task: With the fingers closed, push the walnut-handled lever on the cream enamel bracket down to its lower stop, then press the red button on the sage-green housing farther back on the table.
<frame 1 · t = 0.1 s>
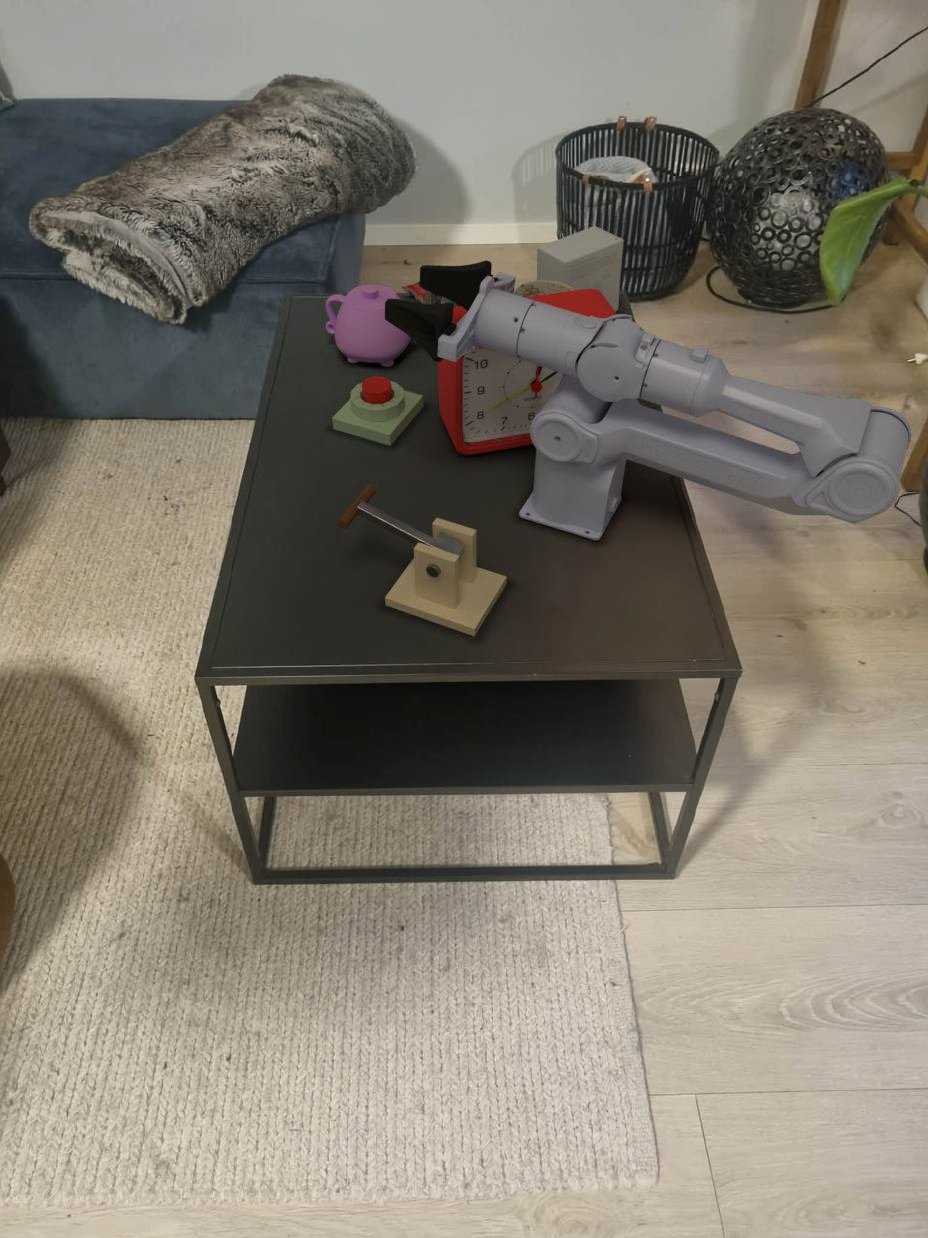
hand: (404, 291, 94), 22 cm above the table, tool horizontal, fingers open, 7 cm apart
button box: (379, 417, 116), on the table
teapot: (381, 353, 127), on the table
cosmetics box: (576, 315, 133), on the table
lever: (405, 531, 92), point 7 cm above the table, hinge at 14.0°
button: (376, 390, 113), point 4 cm above the table, slide at 0.1 cm
mug: (546, 375, 123), on the table
alarm clock: (523, 427, 115), on the table
multicoloured jagged piece: (411, 283, 133), point 3 cm above the table
bracket: (446, 594, 96), on the table
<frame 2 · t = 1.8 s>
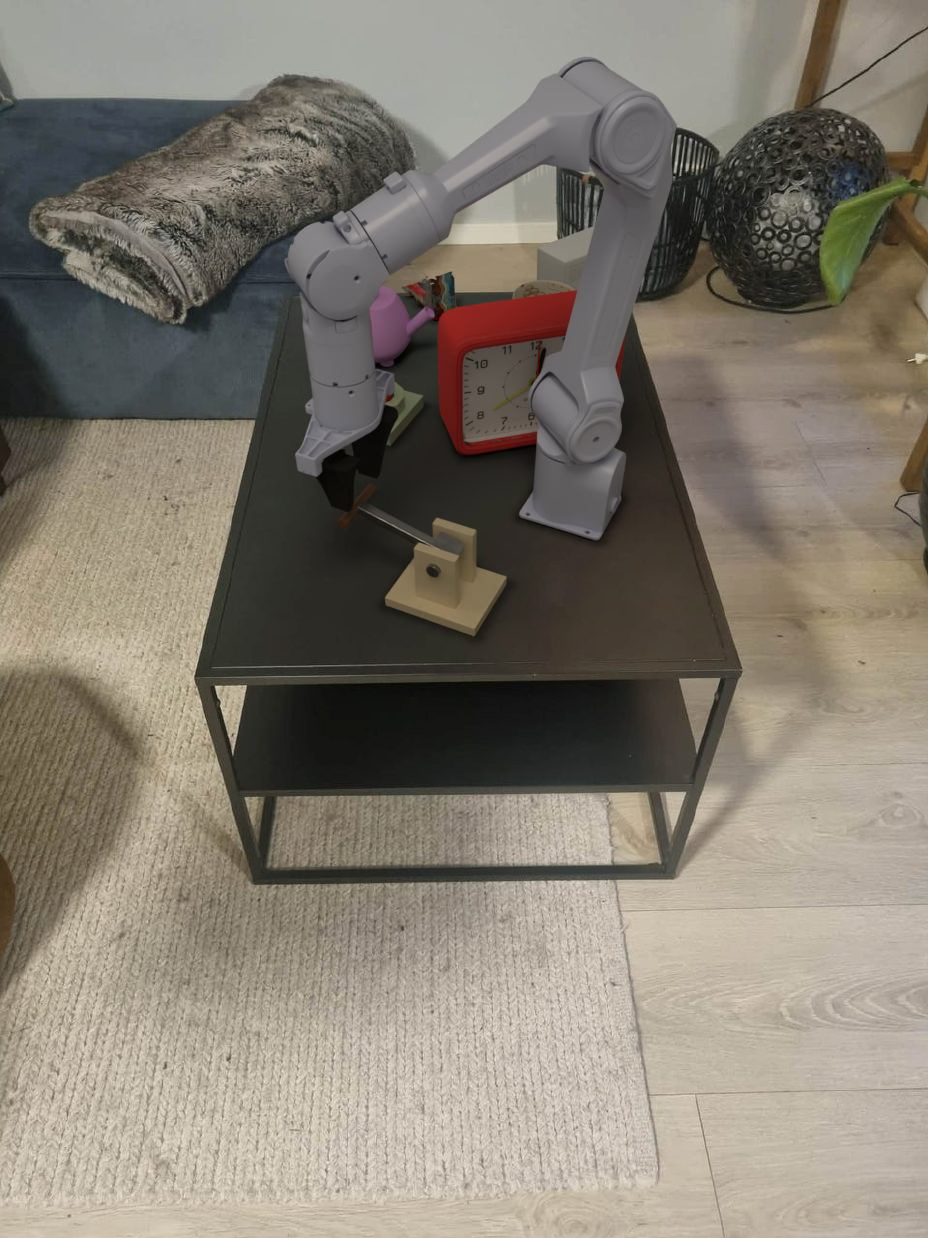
hand: (355, 490, 91), 10 cm above the table, tool pointing down, fingers open, 5 cm apart
nothing on the table moved.
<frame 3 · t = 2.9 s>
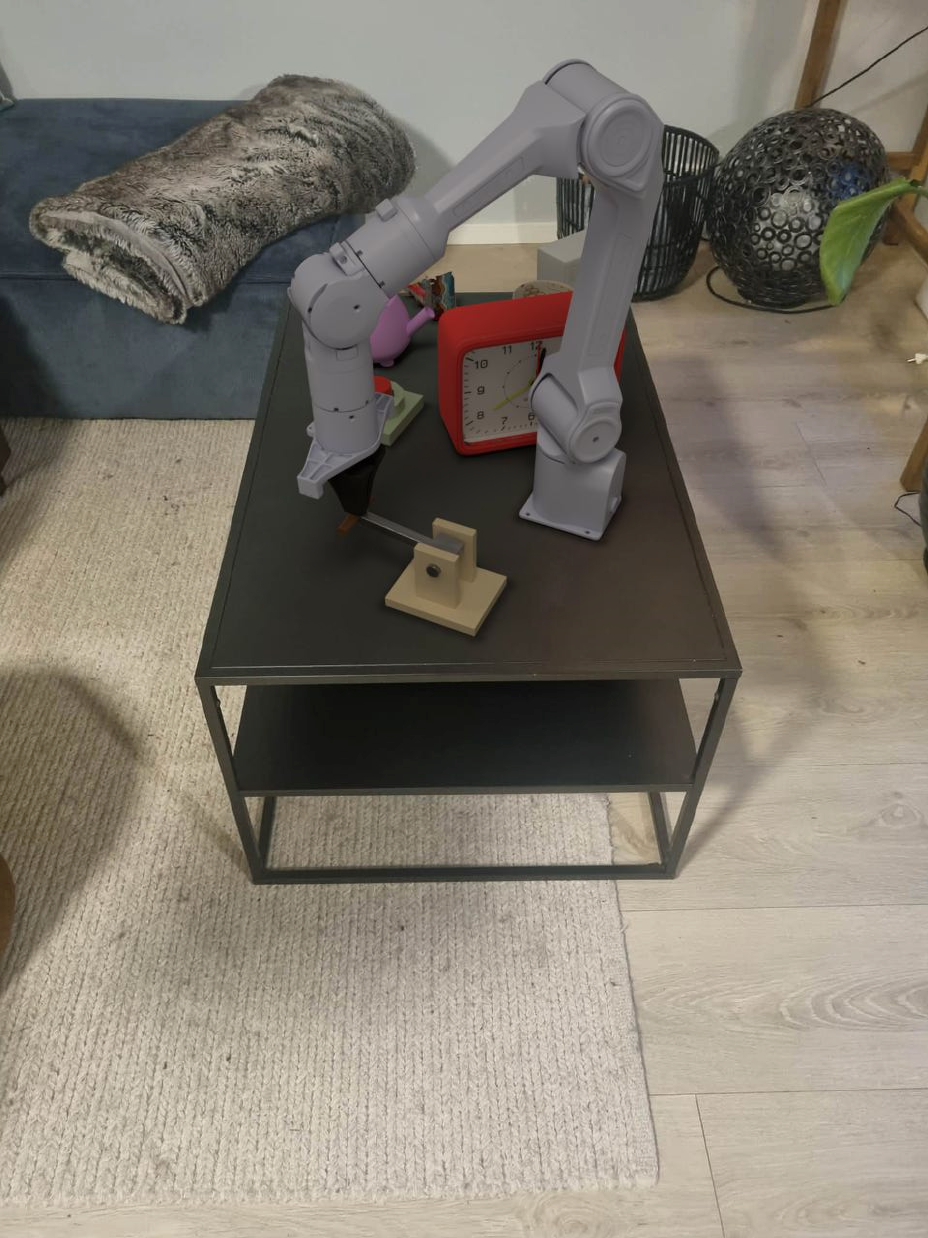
hand: (355, 510, 93), 8 cm above the table, tool pointing down, fingers closed
lever: (404, 534, 92), point 7 cm above the table, hinge at 7.4°
everything else where it was.
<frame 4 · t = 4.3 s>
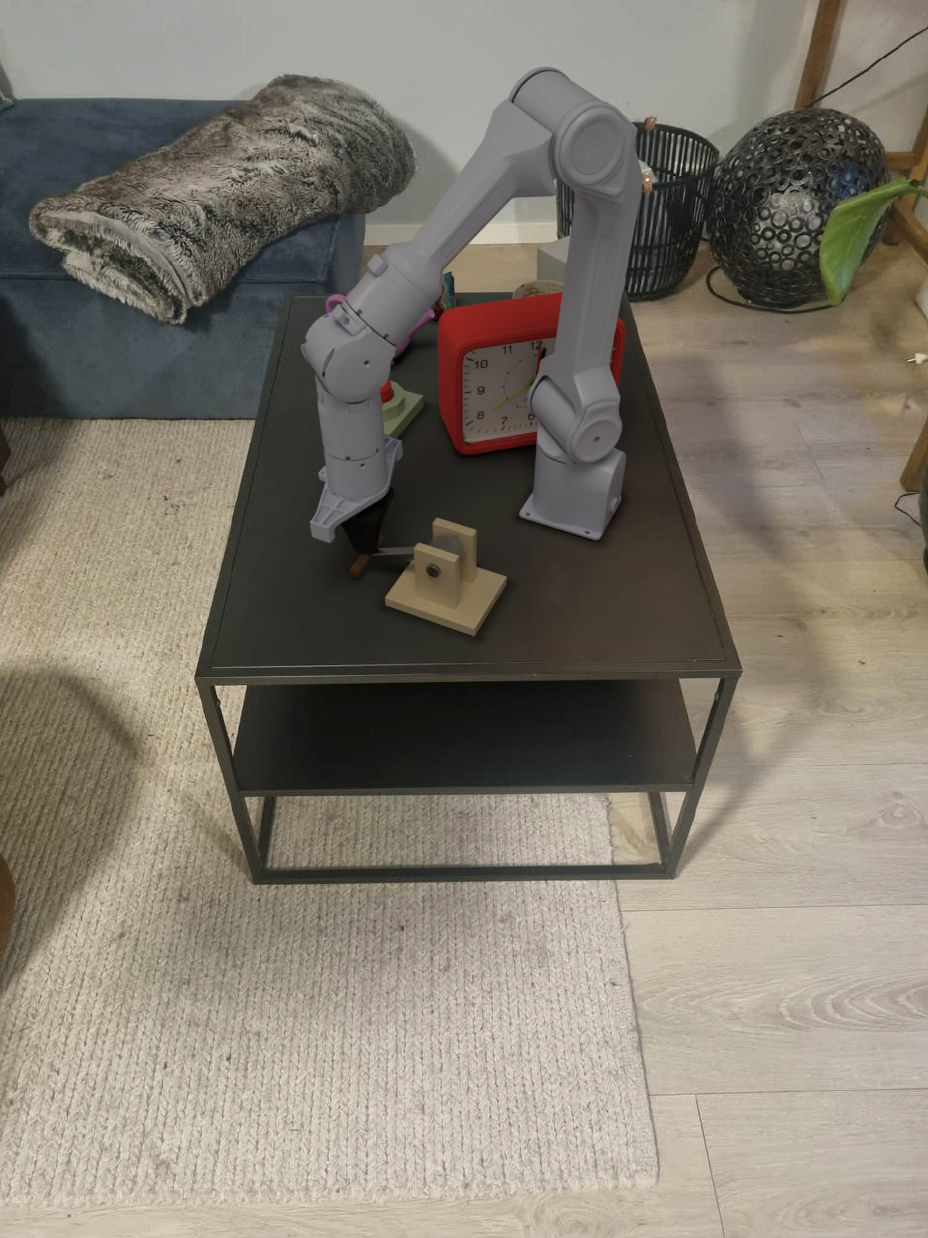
hand: (365, 549, 96), 3 cm above the table, tool pointing down, fingers closed, pressing on lever
lever: (408, 553, 94), point 4 cm above the table, hinge at -24.2°, touching gripper
everything else where it was.
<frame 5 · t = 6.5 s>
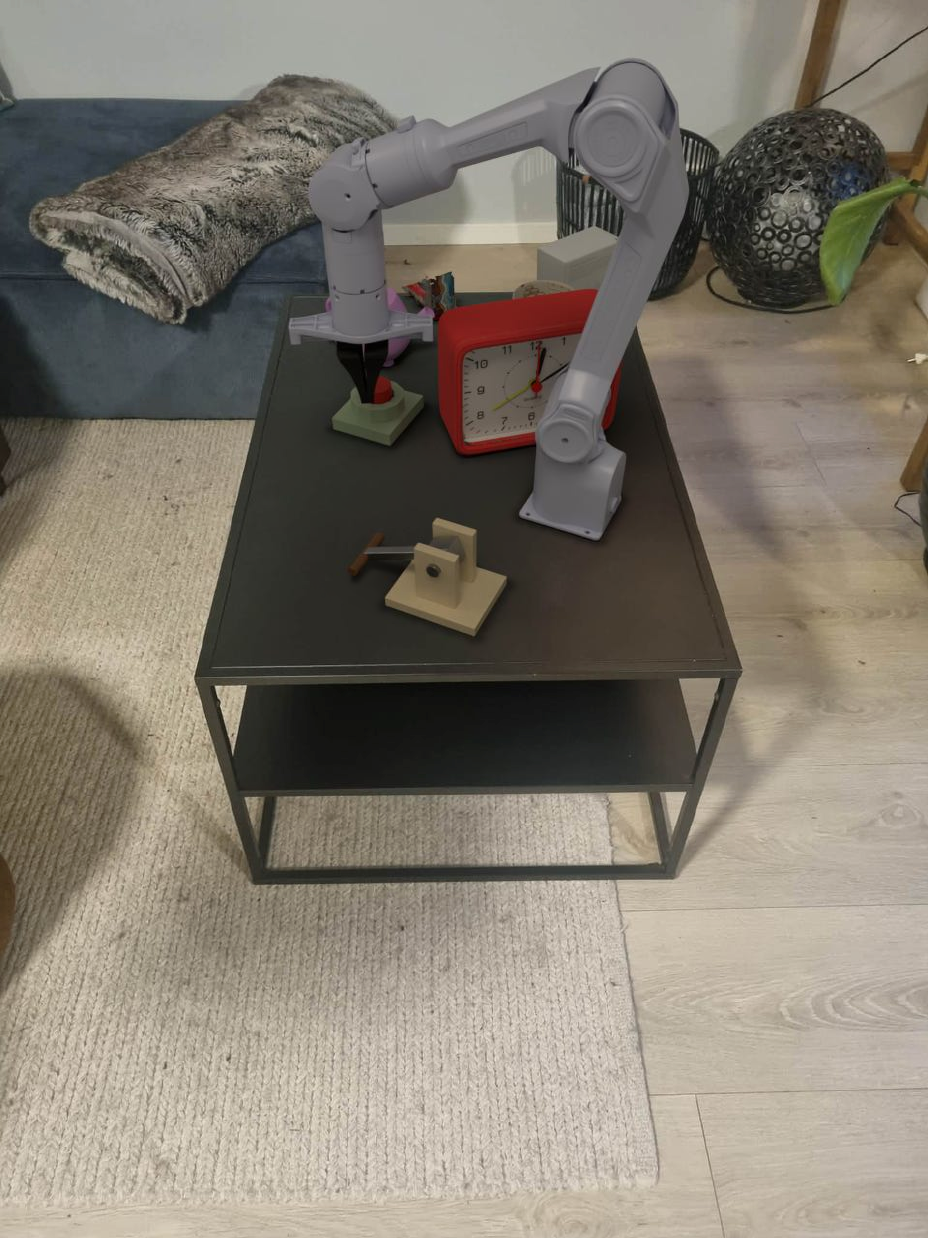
hand: (367, 398, 101), 10 cm above the table, tool pointing down, fingers closed
lever: (408, 553, 94), point 4 cm above the table, hinge at -22.9°
everything else where it was.
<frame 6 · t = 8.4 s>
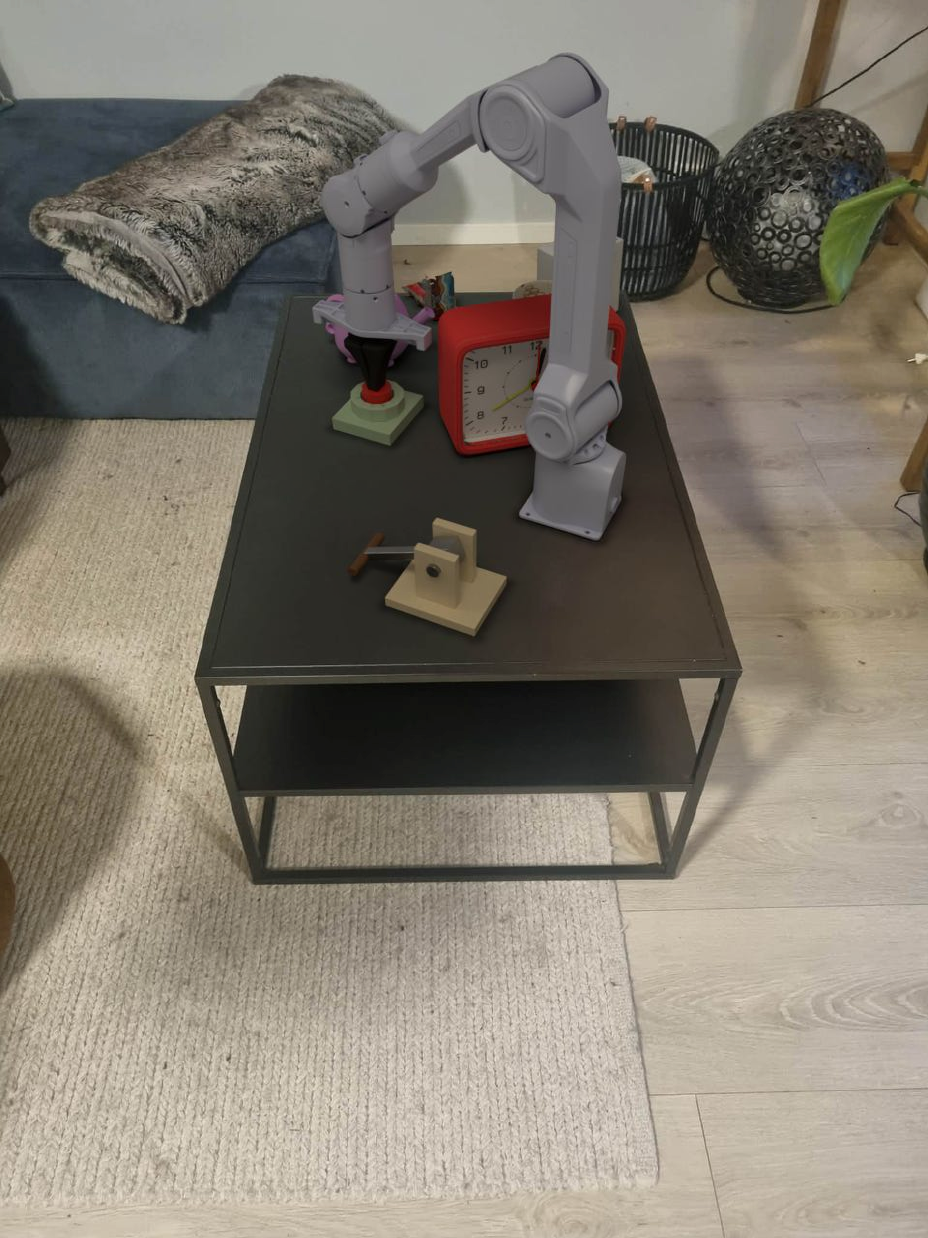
hand: (376, 386, 113), 5 cm above the table, tool pointing down, fingers closed, pressing on button
button: (377, 392, 114), point 4 cm above the table, slide at -0.2 cm, touching gripper
everything else where it was.
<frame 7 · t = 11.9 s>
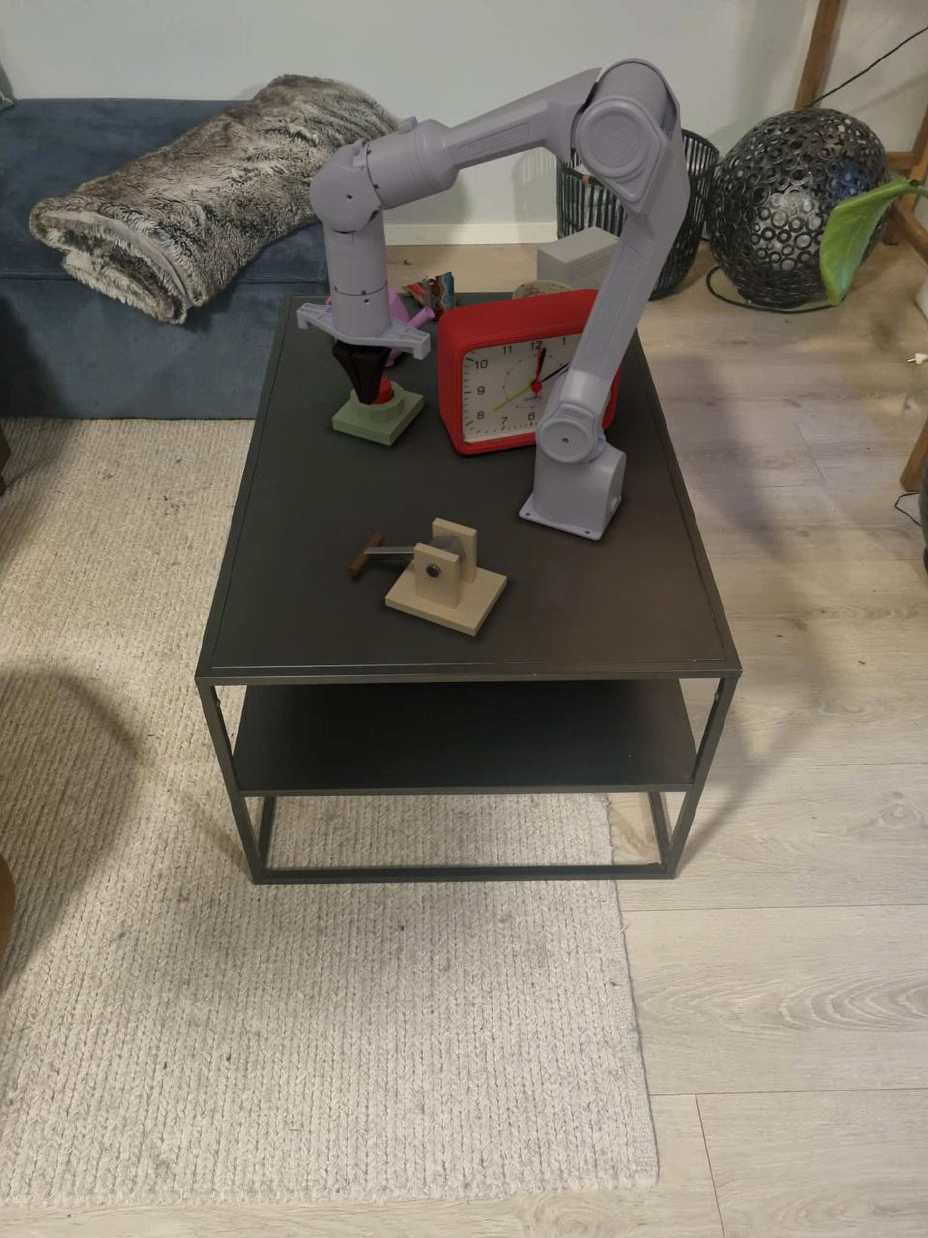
hand: (369, 399, 101), 10 cm above the table, tool pointing down, fingers closed
button: (376, 390, 113), point 4 cm above the table, slide at 0.1 cm
everything else where it was.
at the end: lever at -23° (first picture: +14°); button pushed in 1.2 cm at the most during the clip, back to where it started at the end; button slide at 0.1 cm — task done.
